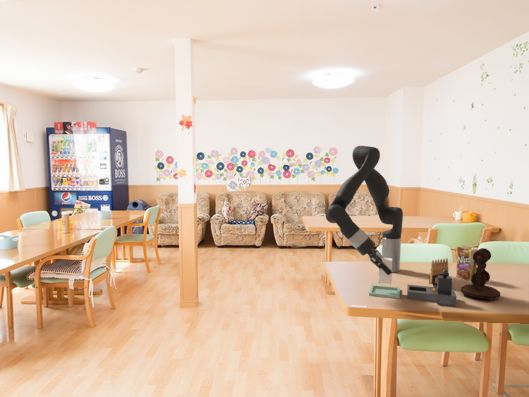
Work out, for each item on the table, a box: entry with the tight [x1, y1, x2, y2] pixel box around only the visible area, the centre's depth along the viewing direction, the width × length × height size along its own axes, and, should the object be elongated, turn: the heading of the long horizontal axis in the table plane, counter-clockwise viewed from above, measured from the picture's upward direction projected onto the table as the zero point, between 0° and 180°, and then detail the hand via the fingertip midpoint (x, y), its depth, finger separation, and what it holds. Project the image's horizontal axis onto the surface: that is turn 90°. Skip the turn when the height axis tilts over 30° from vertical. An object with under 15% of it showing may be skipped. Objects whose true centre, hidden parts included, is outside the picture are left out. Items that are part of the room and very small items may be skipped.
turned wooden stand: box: [460, 247, 501, 302], centre depth 168 cm, size 15×15×20 cm
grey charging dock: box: [406, 269, 458, 307], centre depth 163 cm, size 10×18×13 cm, turn 71°
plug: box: [378, 258, 393, 285], centre depth 169 cm, size 4×5×10 cm
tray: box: [368, 284, 401, 300], centre depth 170 cm, size 12×12×2 cm
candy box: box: [455, 245, 479, 283], centre depth 193 cm, size 9×4×15 cm, turn 17°
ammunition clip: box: [428, 257, 450, 287], centre depth 184 cm, size 11×2×12 cm, turn 115°
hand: (390, 272), depth 169 cm, fingers closed on plug, 4 cm apart
